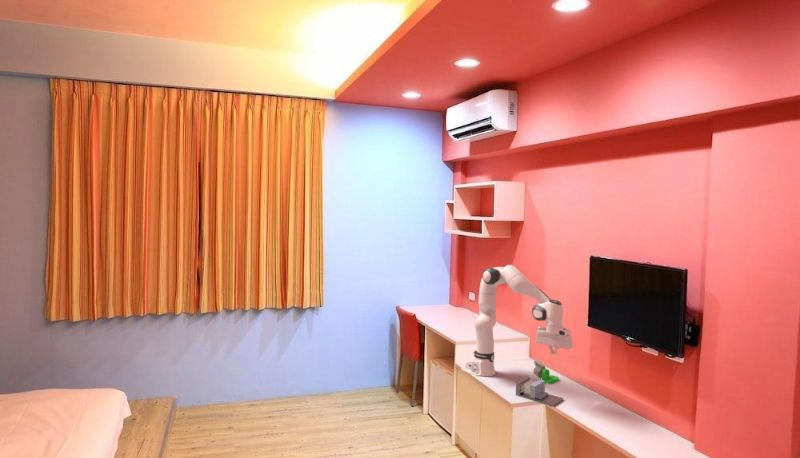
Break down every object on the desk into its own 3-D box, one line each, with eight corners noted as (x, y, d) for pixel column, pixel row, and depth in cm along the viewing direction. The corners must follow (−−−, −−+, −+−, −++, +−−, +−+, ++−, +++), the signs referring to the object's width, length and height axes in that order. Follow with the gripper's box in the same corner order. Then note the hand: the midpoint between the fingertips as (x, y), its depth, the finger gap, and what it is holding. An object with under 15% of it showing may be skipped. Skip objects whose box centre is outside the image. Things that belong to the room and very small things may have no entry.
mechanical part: (549, 384, 305) (550, 372, 305) (541, 382, 309) (541, 369, 309) (560, 380, 313) (560, 368, 312) (552, 378, 317) (552, 365, 317)
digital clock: (549, 380, 313) (549, 365, 313) (536, 379, 314) (537, 365, 314) (543, 372, 327) (544, 359, 327) (532, 372, 328) (532, 358, 327)
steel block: (522, 393, 284) (523, 383, 284) (529, 390, 291) (529, 380, 290) (530, 396, 281) (531, 385, 281) (537, 392, 287) (537, 382, 287)
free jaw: (528, 397, 279) (529, 384, 279) (538, 391, 289) (539, 379, 289) (539, 400, 275) (540, 387, 275) (549, 394, 285) (549, 382, 284)
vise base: (515, 395, 285) (516, 381, 284) (526, 389, 294) (526, 376, 294) (553, 406, 270) (554, 391, 269) (563, 400, 279) (563, 385, 279)
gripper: (534, 327, 280) (533, 351, 281) (569, 333, 267) (568, 358, 267) (539, 325, 285) (538, 349, 285) (574, 331, 271) (573, 356, 272)
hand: (553, 353), depth 276 cm, fingers closed
